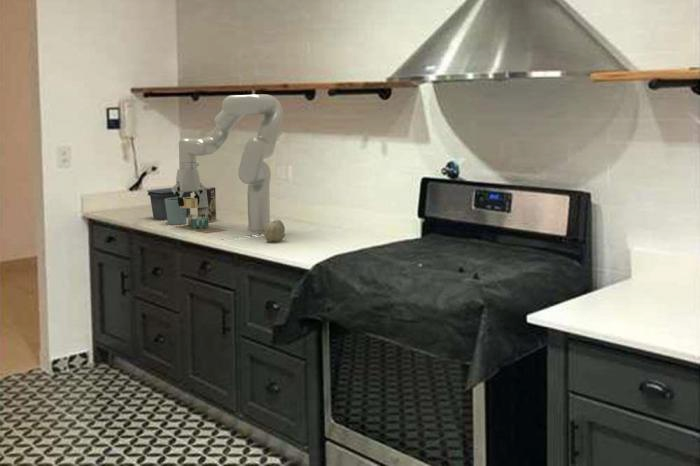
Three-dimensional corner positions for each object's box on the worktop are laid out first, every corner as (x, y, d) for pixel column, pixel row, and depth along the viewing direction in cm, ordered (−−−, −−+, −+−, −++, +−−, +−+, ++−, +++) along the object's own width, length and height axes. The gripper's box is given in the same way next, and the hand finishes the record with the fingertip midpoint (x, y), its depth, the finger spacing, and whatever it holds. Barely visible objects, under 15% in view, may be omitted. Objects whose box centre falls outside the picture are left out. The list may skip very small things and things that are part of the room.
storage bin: (160, 221, 395) (158, 192, 392) (143, 218, 405) (141, 189, 403) (197, 216, 409) (196, 188, 407) (180, 213, 420) (178, 186, 418)
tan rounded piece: (281, 245, 340) (288, 222, 341) (283, 245, 332) (289, 222, 332) (259, 239, 339) (266, 216, 339) (260, 239, 331) (267, 215, 331)
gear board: (227, 233, 357) (226, 219, 355) (205, 236, 349) (204, 221, 348) (196, 227, 376) (196, 213, 375) (175, 229, 369) (174, 215, 368)
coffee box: (210, 223, 388) (209, 189, 385) (197, 222, 389) (196, 189, 387) (217, 220, 397) (215, 187, 394) (204, 219, 398) (203, 186, 395)
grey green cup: (189, 224, 384) (188, 199, 382) (167, 225, 380) (166, 200, 378) (185, 221, 393) (184, 196, 391) (164, 222, 390) (162, 197, 388)
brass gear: (200, 207, 368) (200, 198, 367) (185, 208, 363) (185, 199, 362) (192, 205, 373) (191, 196, 372) (177, 207, 368) (177, 198, 368)
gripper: (200, 164, 373) (201, 202, 376) (166, 166, 362) (167, 206, 365) (209, 165, 368) (209, 204, 371) (174, 167, 356) (175, 207, 359)
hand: (188, 205), depth 368 cm, fingers closed on brass gear, 7 cm apart
